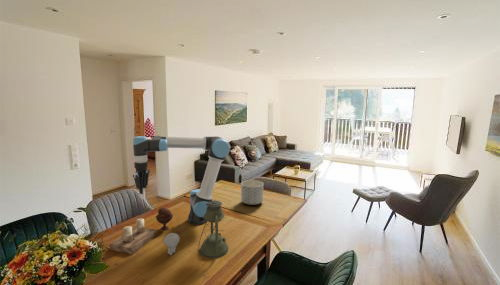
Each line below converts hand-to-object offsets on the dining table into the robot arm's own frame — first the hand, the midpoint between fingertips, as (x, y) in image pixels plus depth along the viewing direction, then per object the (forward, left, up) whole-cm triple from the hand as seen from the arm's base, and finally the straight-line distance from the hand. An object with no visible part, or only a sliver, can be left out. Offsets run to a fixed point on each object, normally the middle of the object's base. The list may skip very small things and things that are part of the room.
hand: (142, 198), depth 159 cm
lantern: (-48, 0, -27) cm, 55 cm away
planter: (-52, -74, -27) cm, 94 cm away
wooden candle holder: (+2, +7, -26) cm, 27 cm away
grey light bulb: (-27, +11, -27) cm, 39 cm away
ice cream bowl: (-6, -13, -27) cm, 30 cm away
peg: (+2, +12, -26) cm, 29 cm away
